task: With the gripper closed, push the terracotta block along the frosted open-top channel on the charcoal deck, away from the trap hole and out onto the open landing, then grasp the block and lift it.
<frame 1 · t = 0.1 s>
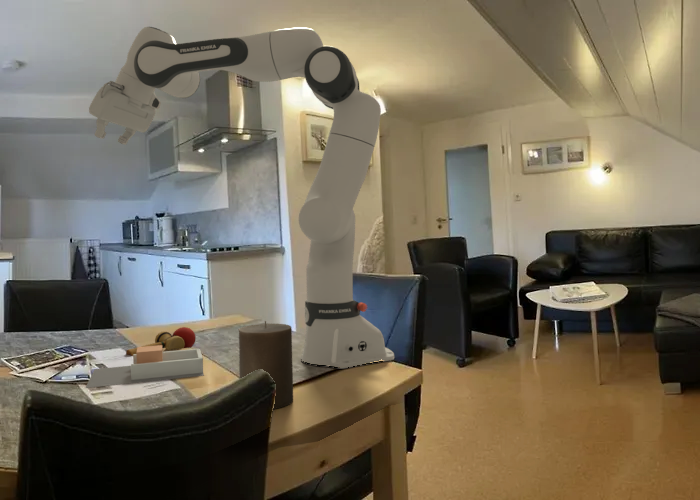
hand: (110, 140, 130), 54 cm above the table, tool tilted 30°, fingers open, 8 cm apart
kendama: (163, 355, 131), on the table
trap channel: (148, 379, 110), on the table
pillar candle: (266, 402, 95), on the table
terracotta block: (150, 371, 110), point 1 cm above the table, touching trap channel
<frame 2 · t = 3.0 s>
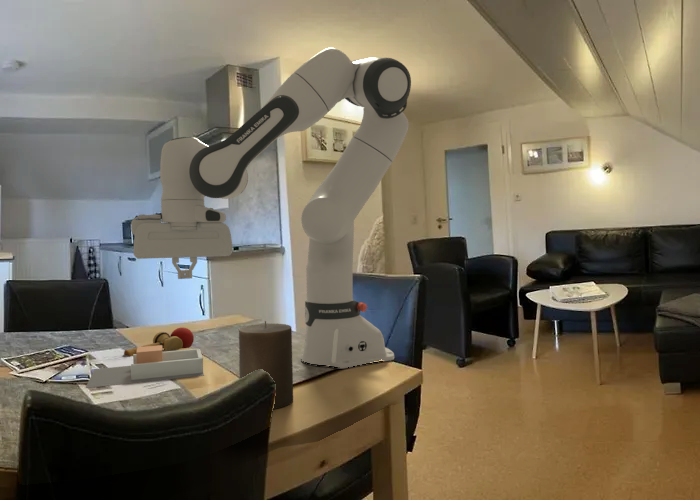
hand: (185, 278, 111), 21 cm above the table, tool pointing down, fingers closed
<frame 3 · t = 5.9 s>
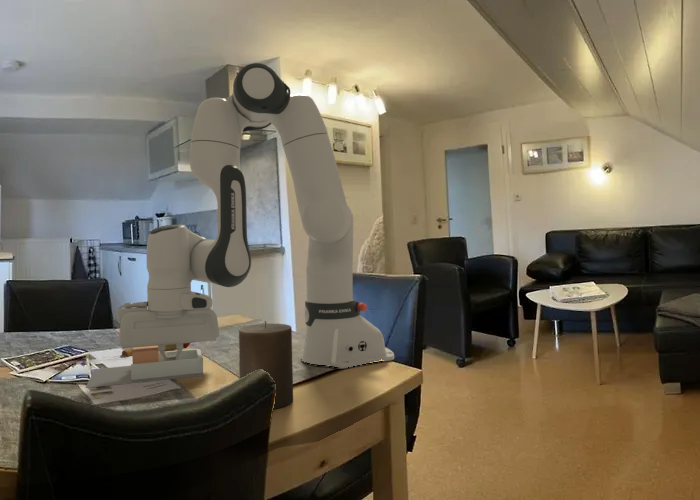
hand: (171, 364, 111), 3 cm above the table, tool pointing down, fingers closed
terracotta block: (146, 372, 109), point 2 cm above the table, touching gripper, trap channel
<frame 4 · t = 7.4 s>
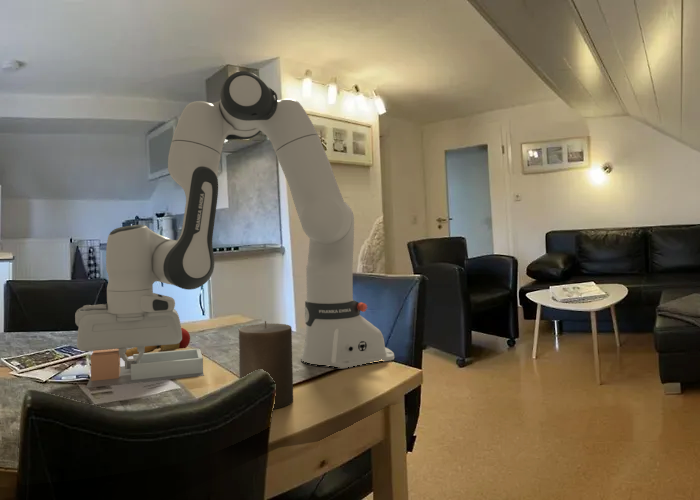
hand: (132, 368, 109), 3 cm above the table, tool pointing down, fingers closed
terracotta block: (106, 376, 107), point 2 cm above the table, touching gripper
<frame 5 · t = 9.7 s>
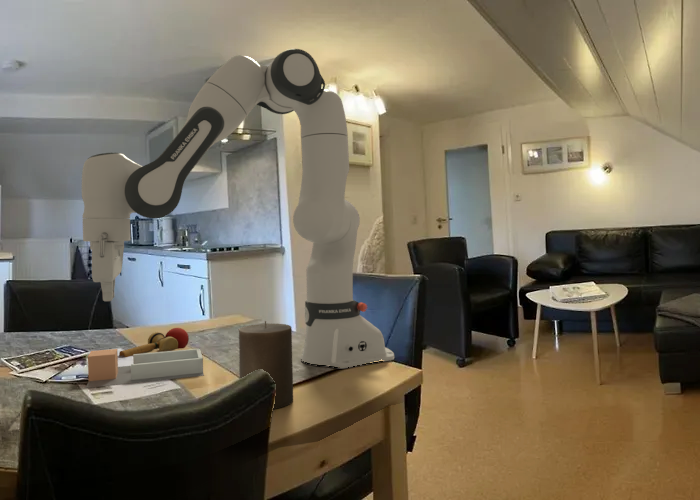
hand: (108, 299, 107), 17 cm above the table, tool pointing down, fingers closed
terracotta block: (103, 376, 107), point 1 cm above the table, touching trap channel
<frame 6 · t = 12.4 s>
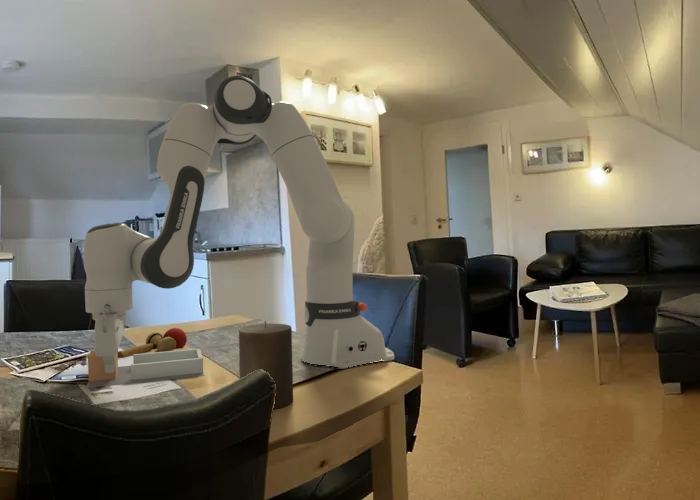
hand: (111, 368, 107), 3 cm above the table, tool pointing down, fingers closed on terracotta block, 5 cm apart
terracotta block: (103, 376, 107), point 1 cm above the table, touching gripper, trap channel
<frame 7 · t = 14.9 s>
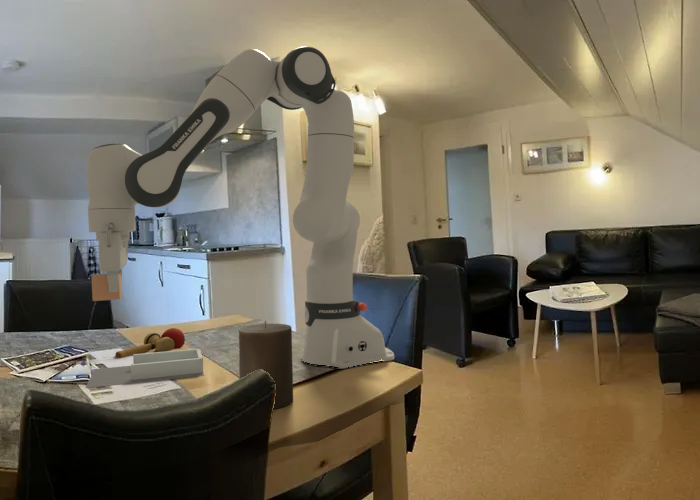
hand: (115, 290, 107), 19 cm above the table, tool pointing down, fingers closed on terracotta block, 5 cm apart
terracotta block: (107, 298, 107), point 18 cm above the table, touching gripper
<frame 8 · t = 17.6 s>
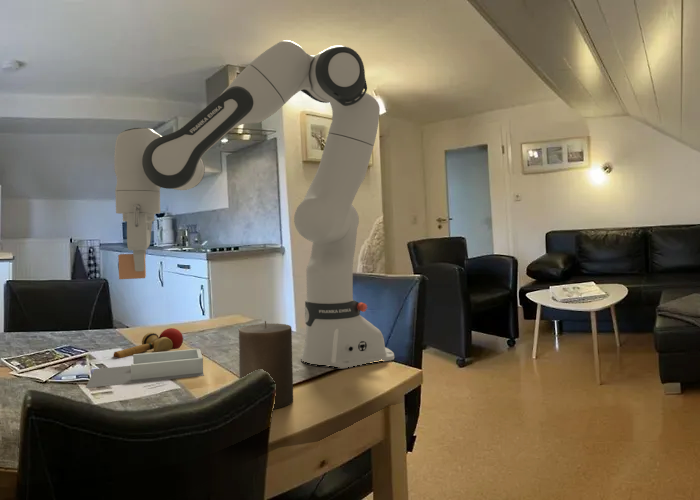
hand: (140, 269, 111), 23 cm above the table, tool pointing down, fingers closed on terracotta block, 5 cm apart
terracotta block: (132, 277, 111), point 21 cm above the table, touching gripper
at the end: terracotta block point 21.5 cm above the table; the gripper is holding terracotta block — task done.
